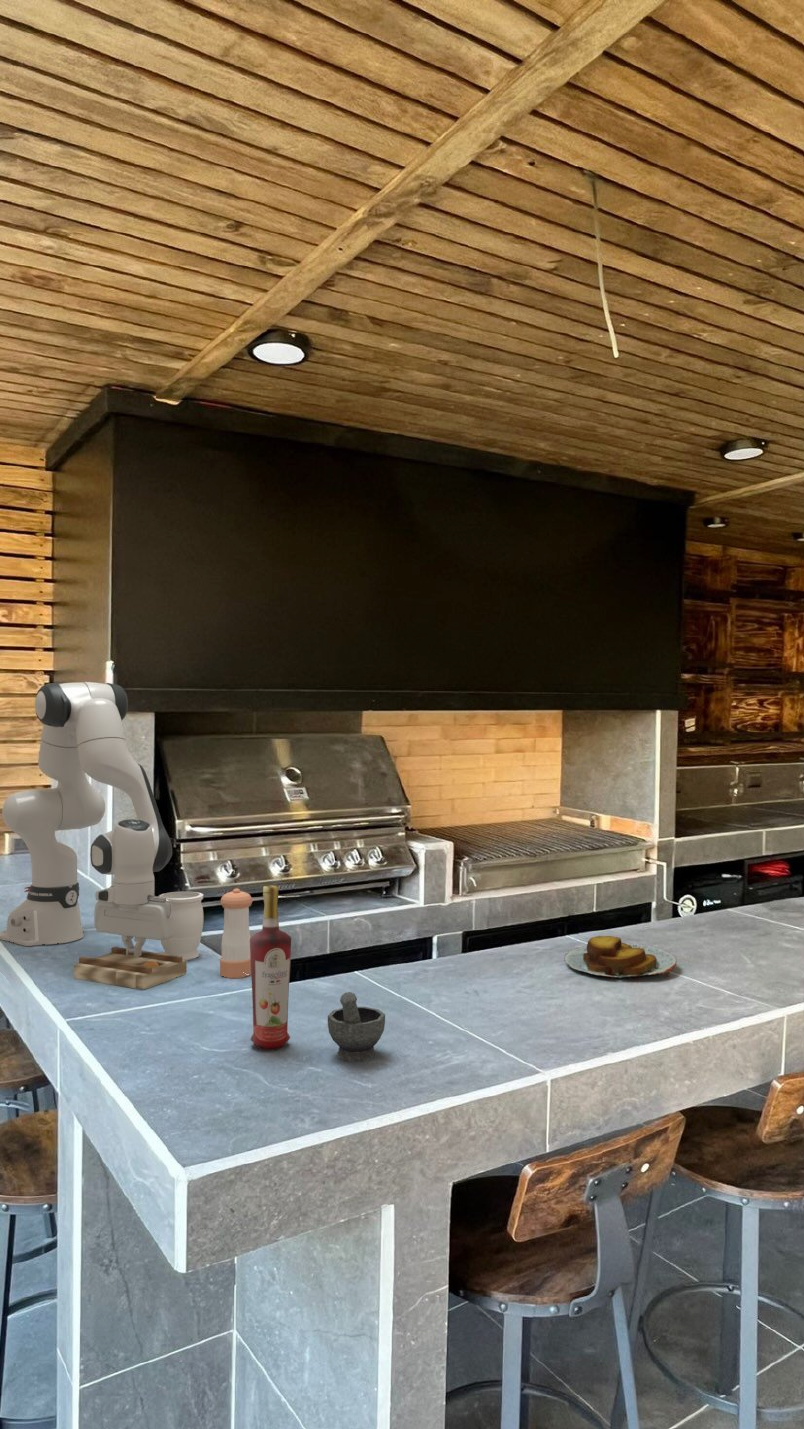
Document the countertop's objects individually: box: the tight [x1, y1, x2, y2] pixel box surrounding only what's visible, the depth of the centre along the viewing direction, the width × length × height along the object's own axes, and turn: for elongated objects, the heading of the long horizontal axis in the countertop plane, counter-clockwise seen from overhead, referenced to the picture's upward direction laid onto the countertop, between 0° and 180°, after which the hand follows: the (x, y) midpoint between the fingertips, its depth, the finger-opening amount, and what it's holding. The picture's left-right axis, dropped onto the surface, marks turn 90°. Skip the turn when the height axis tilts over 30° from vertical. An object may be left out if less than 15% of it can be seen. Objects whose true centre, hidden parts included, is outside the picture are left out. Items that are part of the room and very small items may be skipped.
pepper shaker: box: [219, 888, 253, 979], centre depth 213 cm, size 7×7×19 cm
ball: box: [142, 961, 159, 969], centre depth 209 cm, size 4×4×4 cm
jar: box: [158, 891, 204, 961], centre depth 228 cm, size 11×10×15 cm
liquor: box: [250, 885, 292, 1051], centre depth 167 cm, size 7×7×28 cm
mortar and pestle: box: [327, 991, 386, 1063], centre depth 162 cm, size 11×9×12 cm
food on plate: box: [563, 935, 678, 984], centre depth 220 cm, size 25×25×7 cm
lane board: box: [73, 946, 188, 991], centre depth 211 cm, size 20×14×4 cm
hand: (133, 955), depth 211 cm, fingers closed
